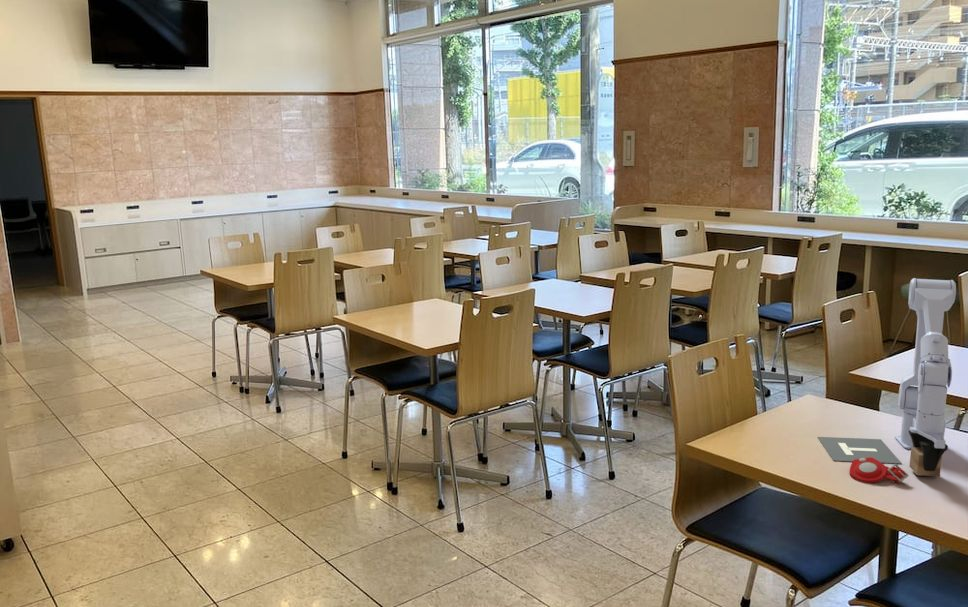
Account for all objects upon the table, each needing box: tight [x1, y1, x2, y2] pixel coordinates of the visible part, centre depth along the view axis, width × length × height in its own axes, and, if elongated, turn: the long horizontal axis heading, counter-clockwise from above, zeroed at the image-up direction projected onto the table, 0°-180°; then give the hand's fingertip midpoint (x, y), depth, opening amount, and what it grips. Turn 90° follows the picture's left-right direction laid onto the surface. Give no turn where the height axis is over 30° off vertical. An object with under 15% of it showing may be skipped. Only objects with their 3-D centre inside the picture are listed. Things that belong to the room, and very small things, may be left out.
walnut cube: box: [909, 447, 943, 477], centre depth 191 cm, size 5×5×5 cm
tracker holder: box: [849, 457, 910, 484], centre depth 191 cm, size 12×4×10 cm
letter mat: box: [817, 436, 902, 465], centre depth 207 cm, size 16×16×1 cm
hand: (924, 465), depth 191 cm, fingers closed on walnut cube, 5 cm apart
